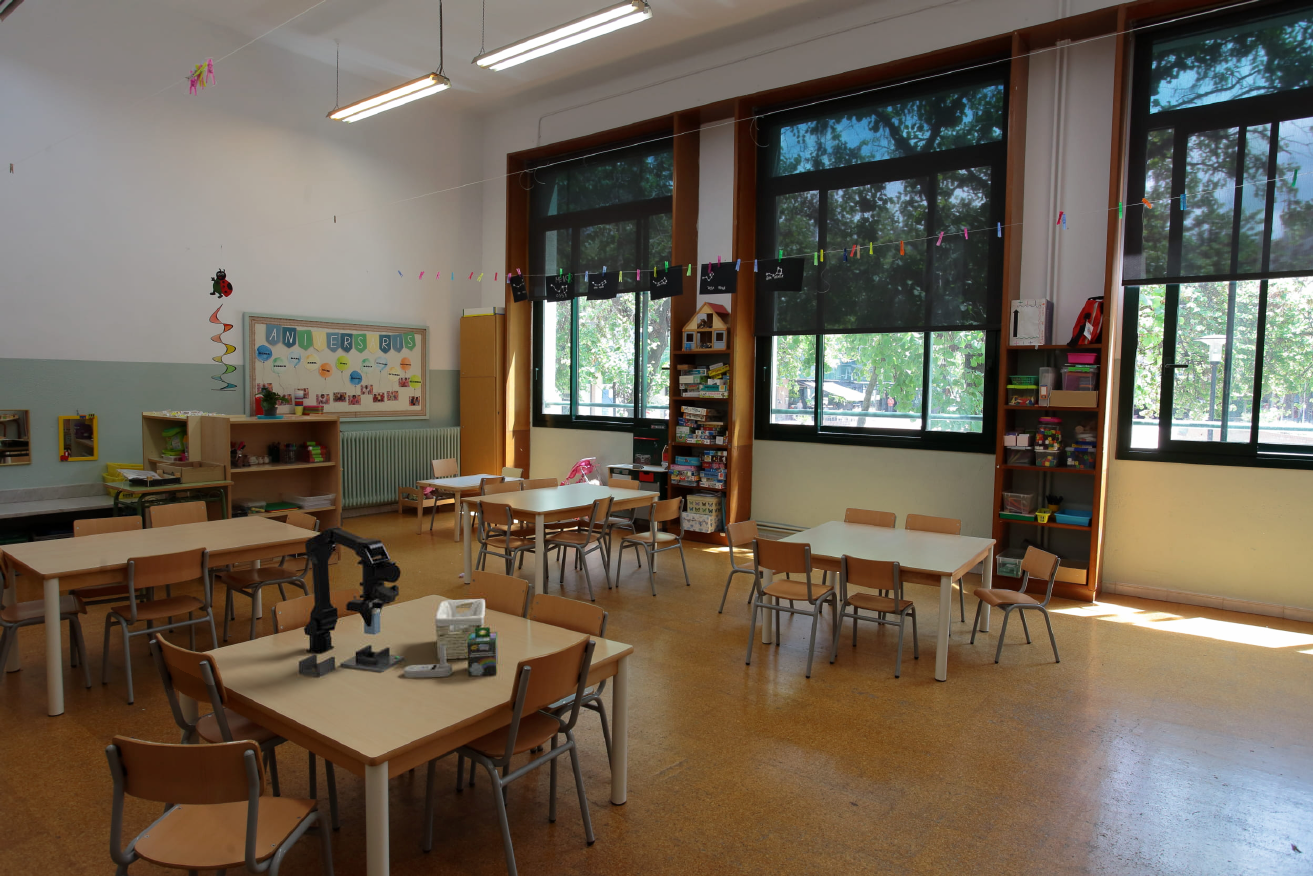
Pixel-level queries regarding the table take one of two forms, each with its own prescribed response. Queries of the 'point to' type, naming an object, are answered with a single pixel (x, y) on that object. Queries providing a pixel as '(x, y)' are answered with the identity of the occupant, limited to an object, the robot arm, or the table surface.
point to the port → (372, 659)
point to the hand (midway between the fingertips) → (372, 625)
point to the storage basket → (458, 625)
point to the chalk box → (482, 653)
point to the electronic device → (430, 668)
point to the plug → (373, 623)
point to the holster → (316, 666)
